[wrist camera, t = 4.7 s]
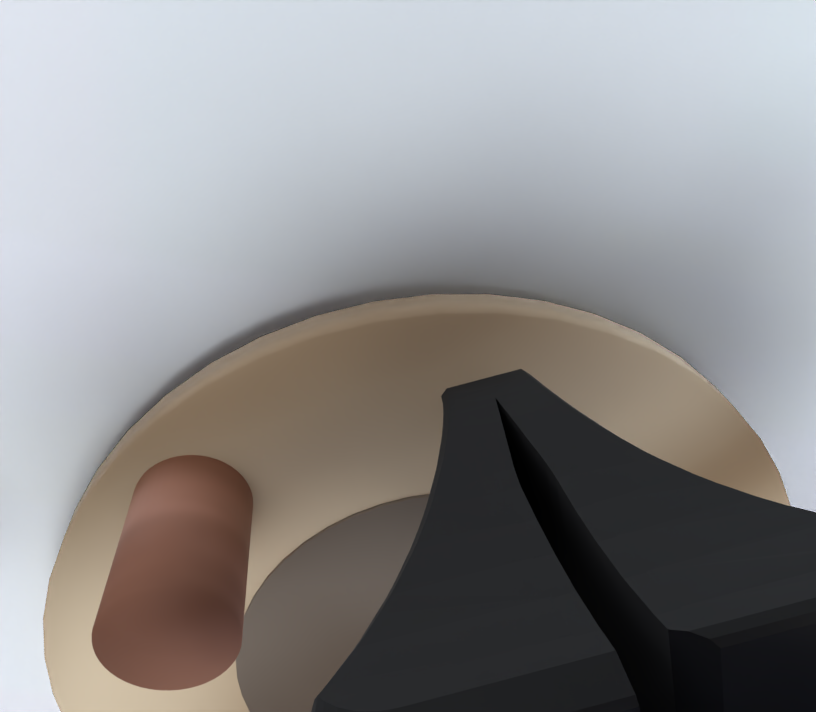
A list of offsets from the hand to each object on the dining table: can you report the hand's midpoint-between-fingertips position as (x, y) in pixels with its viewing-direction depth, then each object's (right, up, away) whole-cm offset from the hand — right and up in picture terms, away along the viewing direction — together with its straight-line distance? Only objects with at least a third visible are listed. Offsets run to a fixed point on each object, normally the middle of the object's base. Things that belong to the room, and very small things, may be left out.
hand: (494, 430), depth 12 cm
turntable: (-1, -4, +5) cm, 6 cm away
